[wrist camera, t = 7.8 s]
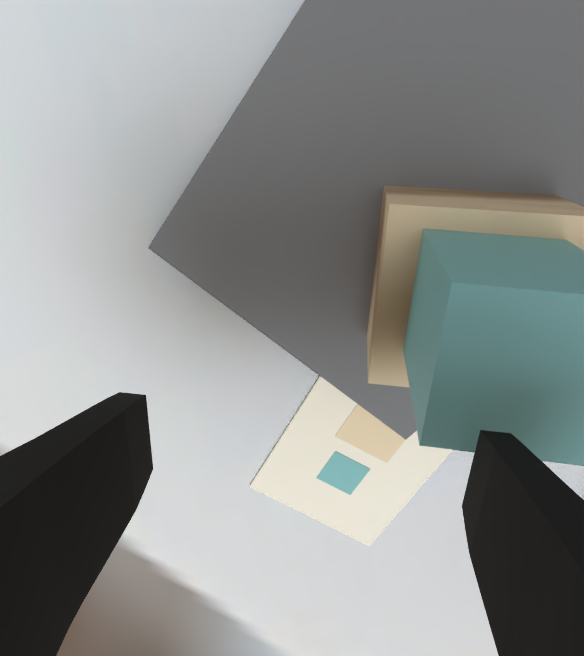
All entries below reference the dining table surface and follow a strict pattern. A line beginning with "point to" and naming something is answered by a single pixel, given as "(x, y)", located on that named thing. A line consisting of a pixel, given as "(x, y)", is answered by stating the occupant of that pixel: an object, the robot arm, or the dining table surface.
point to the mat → (373, 159)
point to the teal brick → (498, 342)
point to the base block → (455, 215)
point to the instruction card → (345, 465)
